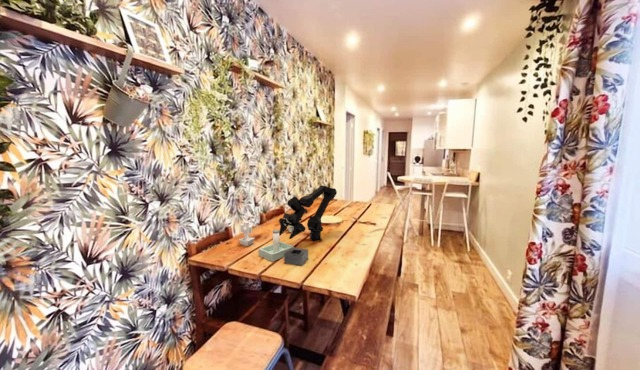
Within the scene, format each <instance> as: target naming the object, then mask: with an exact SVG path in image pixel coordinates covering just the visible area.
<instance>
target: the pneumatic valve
mask: <svg viewBox="0 0 640 370" xmlns="http://www.w3.org/2000/svg"><path fill="white" fill-rule="evenodd" d="M284 219H286V218H284ZM286 220H287V219H286ZM287 221H288V220H287ZM288 222H289V221H288ZM299 223H301V221H299ZM287 229H288V230H287V231H288V233H292V231H293V229H294V227H293V226H290V225H289V226H288V227H287Z"/></svg>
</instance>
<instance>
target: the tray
mask: <svg viewBox="0 0 640 370" xmlns="http://www.w3.org/2000/svg"><path fill="white" fill-rule="evenodd" d="M279 241H280V251H278V252H275V253H273V243H271V244H269V245H265V246H263V247H260V248H258V256H259V257H261V258H263V259H265V260H268V261H270V262H275V261H277V260H279V259H282V258H283V259H284V254H285V253H286V252H287V251H288V250H289V249H290V248H291V247H292V248H295V246H293V245H291V244H288V243H286V242H283V241H281V240H279Z"/></svg>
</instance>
